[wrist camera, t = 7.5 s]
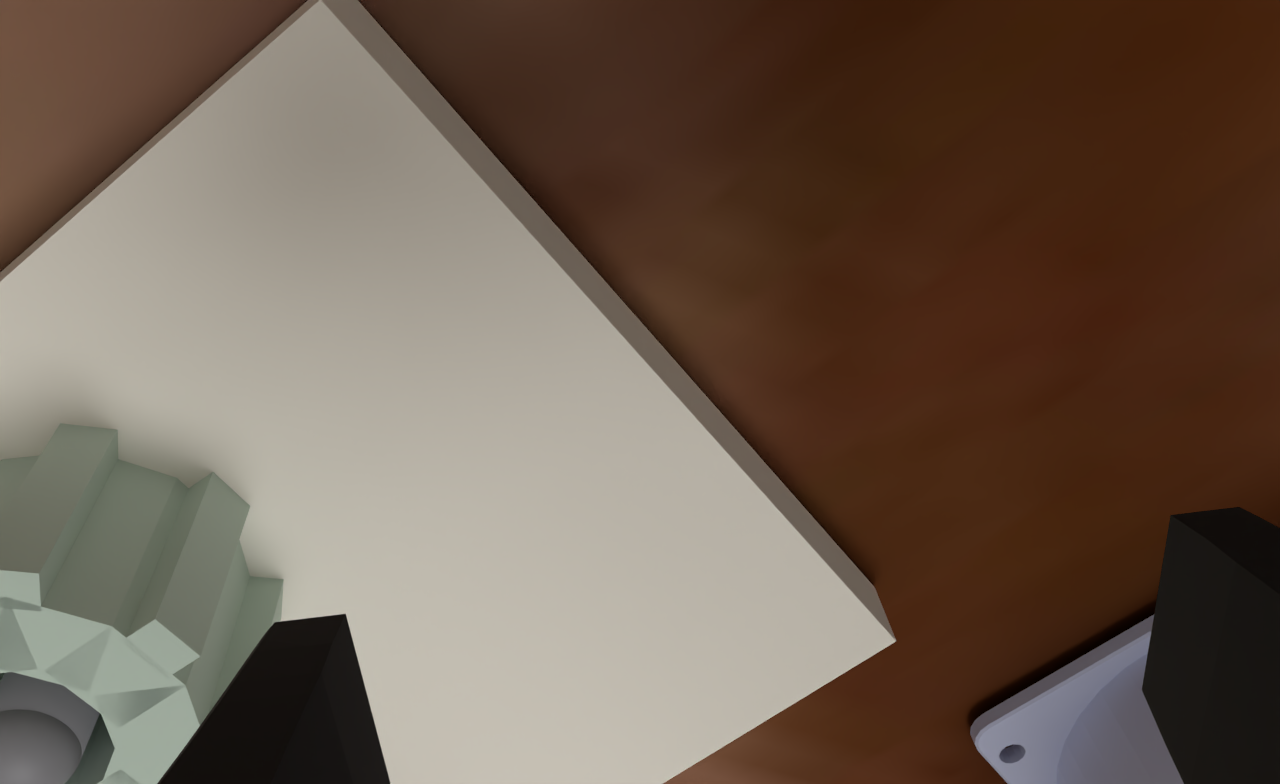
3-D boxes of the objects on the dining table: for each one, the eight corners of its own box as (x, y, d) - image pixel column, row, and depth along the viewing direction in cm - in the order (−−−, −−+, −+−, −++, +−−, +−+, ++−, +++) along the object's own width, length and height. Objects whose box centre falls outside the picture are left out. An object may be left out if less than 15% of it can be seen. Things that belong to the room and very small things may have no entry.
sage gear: (358, 605, 20) (329, 763, 17) (100, 766, 21) (32, 939, 18) (86, 355, 17) (-2, 489, 14) (-190, 555, 18) (-324, 718, 16)
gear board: (874, 586, 23) (969, 823, 18) (228, 990, 27) (165, 1271, 22) (335, -25, 16) (262, 88, 12) (-397, 623, 21) (-672, 901, 16)
